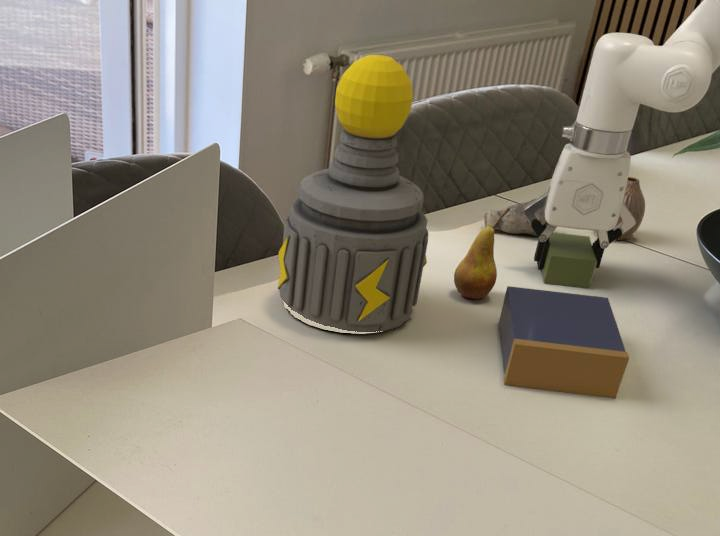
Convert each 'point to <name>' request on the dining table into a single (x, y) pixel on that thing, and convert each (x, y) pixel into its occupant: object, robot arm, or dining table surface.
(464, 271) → the fruit
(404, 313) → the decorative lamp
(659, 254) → the dining table surface
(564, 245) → the green rectangular block
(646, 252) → the dining table surface
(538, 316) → the blue and tan box
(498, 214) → the stone
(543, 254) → the robot arm
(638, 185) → the vase
